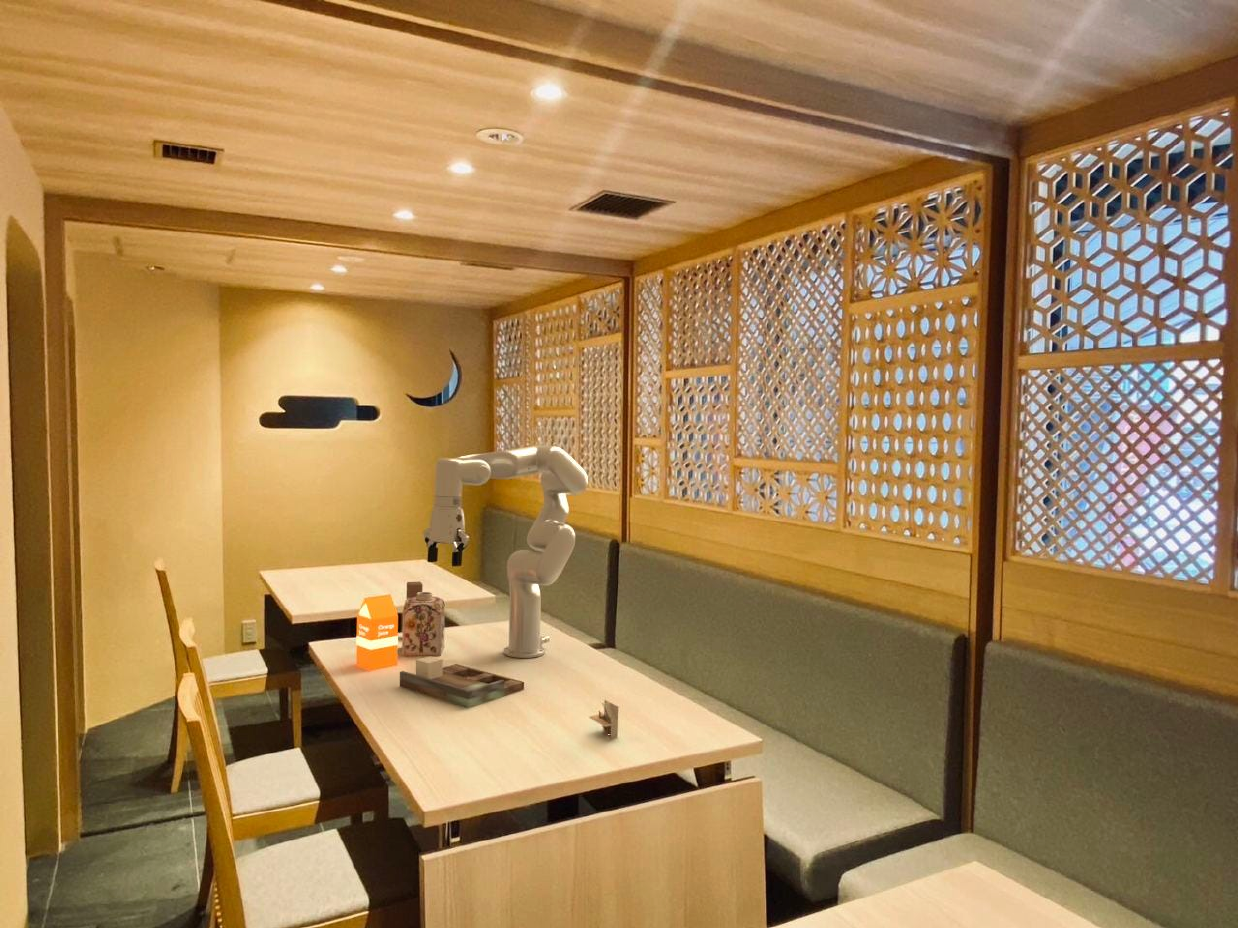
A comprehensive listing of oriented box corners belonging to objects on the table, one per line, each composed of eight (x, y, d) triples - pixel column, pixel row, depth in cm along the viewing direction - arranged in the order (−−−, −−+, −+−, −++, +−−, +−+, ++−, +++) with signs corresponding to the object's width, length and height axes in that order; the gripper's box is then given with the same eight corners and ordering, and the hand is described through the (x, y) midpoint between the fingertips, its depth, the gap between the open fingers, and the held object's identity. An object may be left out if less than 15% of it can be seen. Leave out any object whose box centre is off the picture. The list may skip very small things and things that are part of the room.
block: (429, 672, 239) (430, 656, 239) (442, 675, 236) (442, 659, 236) (415, 676, 235) (415, 659, 235) (428, 679, 232) (428, 663, 232)
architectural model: (605, 741, 198) (606, 708, 197) (589, 732, 203) (589, 700, 203) (618, 738, 200) (618, 706, 199) (601, 729, 205) (602, 698, 205)
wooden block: (433, 634, 289) (434, 580, 289) (435, 638, 285) (436, 583, 284) (405, 636, 286) (406, 581, 285) (407, 639, 282) (408, 584, 281)
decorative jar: (406, 646, 274) (407, 589, 273) (444, 646, 275) (445, 589, 274) (401, 656, 262) (402, 596, 261) (441, 656, 263) (442, 596, 263)
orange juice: (397, 665, 253) (398, 596, 252) (370, 671, 246) (371, 600, 245) (382, 659, 258) (383, 592, 257) (355, 665, 252) (356, 595, 251)
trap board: (456, 670, 248) (456, 656, 248) (524, 689, 233) (524, 674, 233) (399, 686, 232) (399, 671, 232) (468, 707, 217) (468, 691, 217)
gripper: (479, 504, 243) (476, 566, 243) (436, 500, 253) (433, 559, 253) (459, 505, 237) (456, 568, 237) (416, 500, 247) (413, 561, 247)
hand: (444, 563), depth 245 cm, fingers open, 9 cm apart
